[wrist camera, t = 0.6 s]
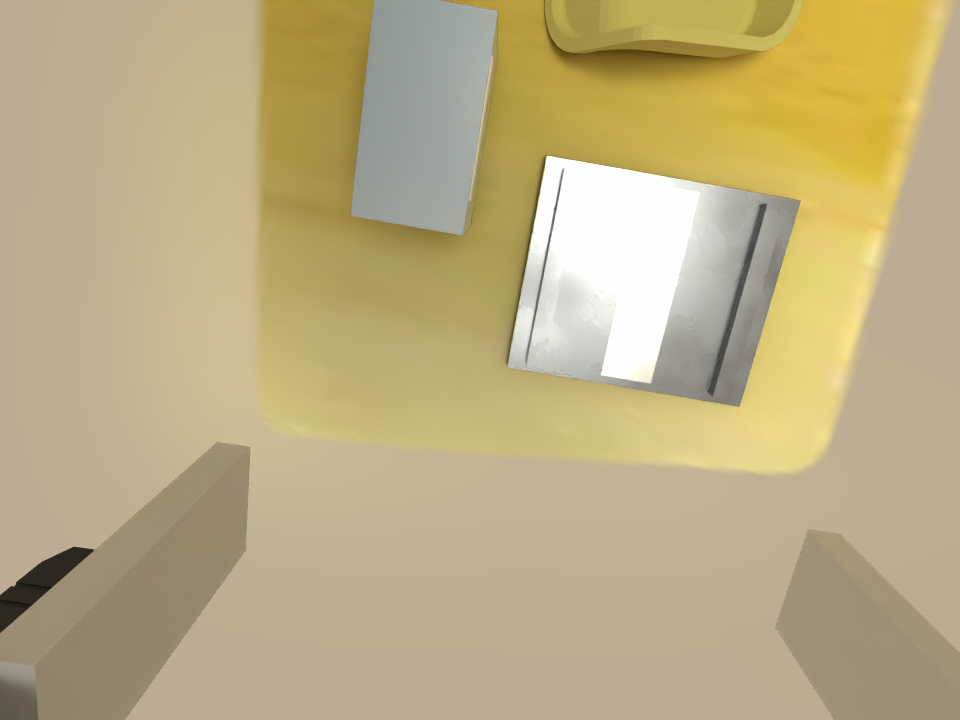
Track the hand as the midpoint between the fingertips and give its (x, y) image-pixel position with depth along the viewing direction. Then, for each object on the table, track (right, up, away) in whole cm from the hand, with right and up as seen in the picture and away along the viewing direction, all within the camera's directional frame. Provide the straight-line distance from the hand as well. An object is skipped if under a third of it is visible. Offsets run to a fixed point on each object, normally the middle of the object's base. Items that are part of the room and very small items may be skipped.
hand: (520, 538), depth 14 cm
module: (-3, +16, +19) cm, 25 cm away
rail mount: (+9, +9, +21) cm, 24 cm away
